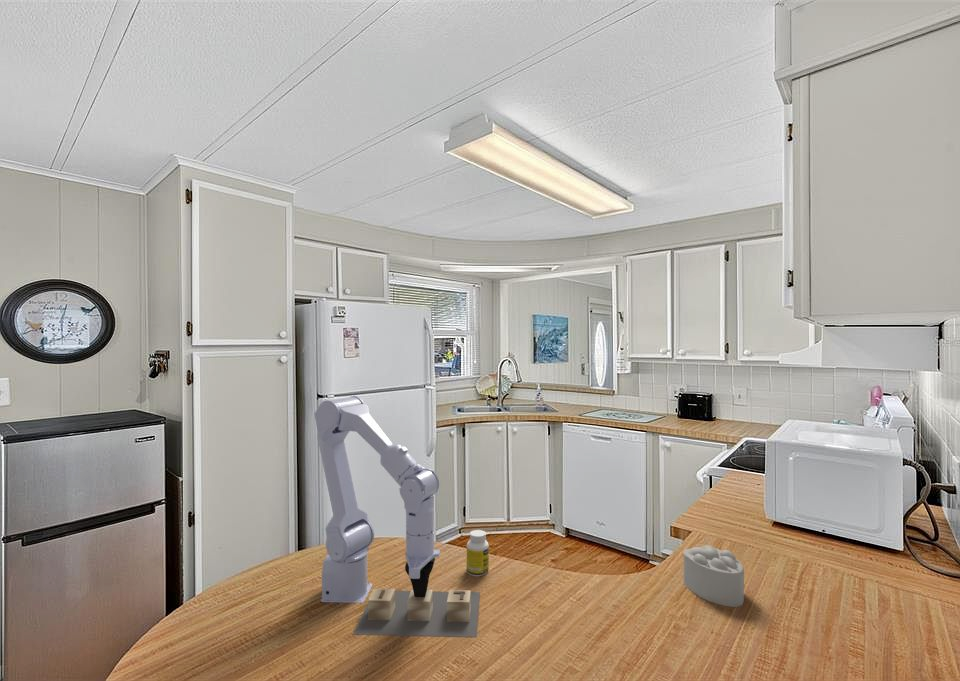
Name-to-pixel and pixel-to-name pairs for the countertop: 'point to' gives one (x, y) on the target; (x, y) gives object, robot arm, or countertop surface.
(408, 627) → the charcoal mat
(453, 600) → the numbered block right
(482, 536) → the supplement bottle
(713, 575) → the lumpy-topped squat cylinder
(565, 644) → the countertop surface
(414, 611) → the plain birch block
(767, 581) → the countertop surface
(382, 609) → the numbered block left
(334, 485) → the robot arm
